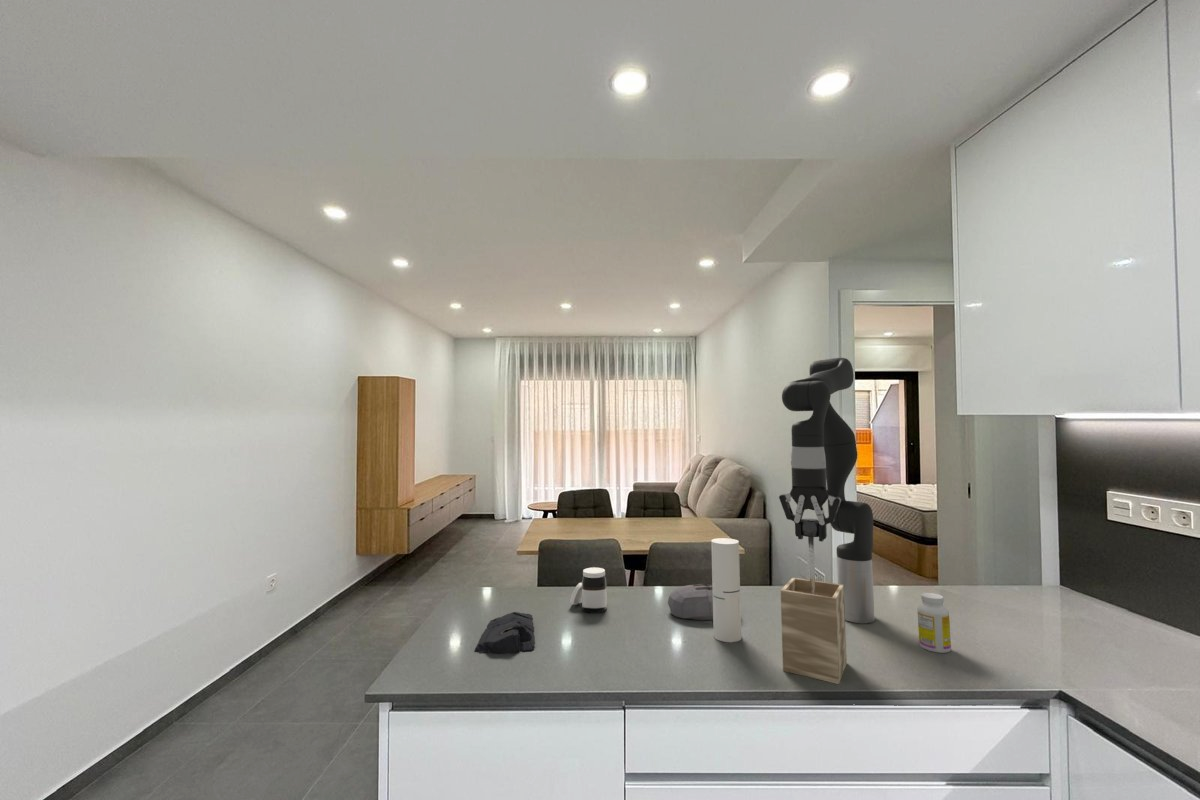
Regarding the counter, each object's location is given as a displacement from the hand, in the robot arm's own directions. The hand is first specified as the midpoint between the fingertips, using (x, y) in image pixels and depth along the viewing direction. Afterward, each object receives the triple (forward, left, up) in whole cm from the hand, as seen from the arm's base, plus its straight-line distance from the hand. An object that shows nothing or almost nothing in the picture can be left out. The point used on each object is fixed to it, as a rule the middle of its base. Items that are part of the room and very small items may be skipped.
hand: (810, 539), depth 120 cm
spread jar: (-5, -67, -29) cm, 73 cm away
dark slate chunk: (+24, -73, -30) cm, 82 cm away
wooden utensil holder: (0, 0, -29) cm, 29 cm away
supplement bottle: (-26, +23, -29) cm, 45 cm away
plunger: (0, 0, -18) cm, 18 cm away
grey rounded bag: (-19, -36, -29) cm, 50 cm away
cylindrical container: (-6, -23, -29) cm, 38 cm away
